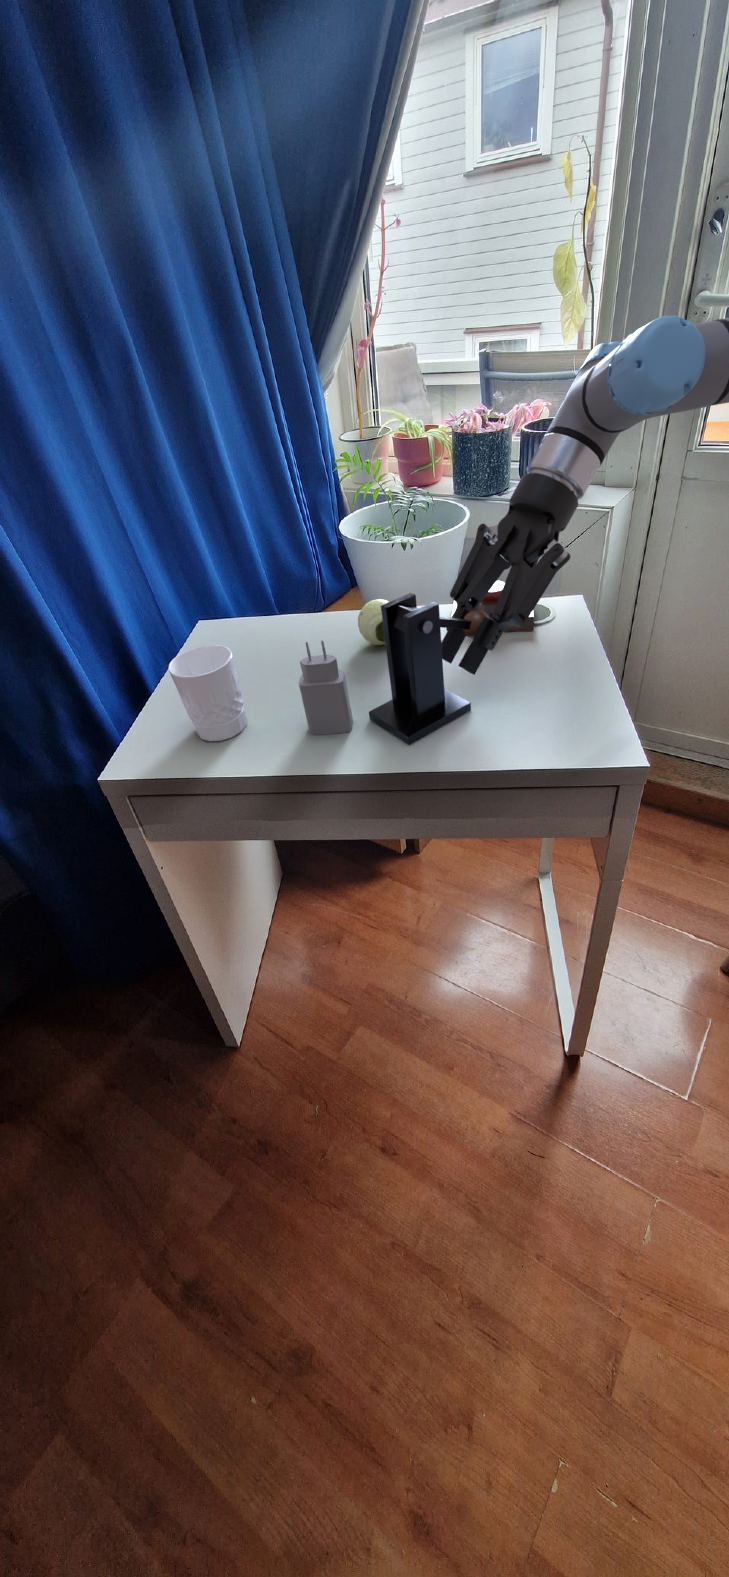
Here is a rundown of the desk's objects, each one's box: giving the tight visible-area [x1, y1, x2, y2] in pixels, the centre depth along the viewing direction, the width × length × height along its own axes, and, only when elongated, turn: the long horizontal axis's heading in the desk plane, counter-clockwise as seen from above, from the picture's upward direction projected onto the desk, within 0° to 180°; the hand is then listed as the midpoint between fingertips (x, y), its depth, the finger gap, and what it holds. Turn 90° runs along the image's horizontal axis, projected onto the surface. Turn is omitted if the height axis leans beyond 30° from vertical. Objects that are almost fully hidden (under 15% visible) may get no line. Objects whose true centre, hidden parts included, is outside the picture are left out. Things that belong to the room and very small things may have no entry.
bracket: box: [368, 592, 472, 746], centre depth 77 cm, size 10×8×15 cm
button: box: [482, 580, 505, 602], centre depth 96 cm, size 4×4×2 cm
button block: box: [450, 600, 535, 633], centre depth 98 cm, size 12×8×4 cm, turn 79°
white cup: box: [168, 644, 248, 742], centre depth 83 cm, size 8×8×10 cm
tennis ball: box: [357, 598, 390, 647], centre depth 96 cm, size 6×7×7 cm
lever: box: [394, 606, 490, 640], centre depth 77 cm, size 14×4×4 cm, turn 126°
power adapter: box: [298, 640, 354, 736], centre depth 79 cm, size 3×5×12 cm, turn 86°
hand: (454, 664), depth 81 cm, fingers closed on lever, 4 cm apart
